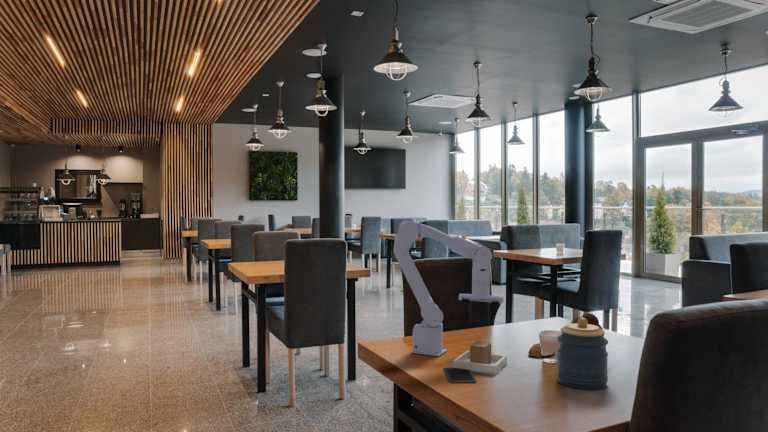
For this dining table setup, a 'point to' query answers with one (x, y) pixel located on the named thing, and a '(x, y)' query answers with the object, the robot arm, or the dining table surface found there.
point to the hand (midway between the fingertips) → (480, 323)
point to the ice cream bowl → (589, 320)
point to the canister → (582, 356)
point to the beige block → (480, 352)
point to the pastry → (535, 350)
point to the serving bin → (492, 368)
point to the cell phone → (459, 375)
